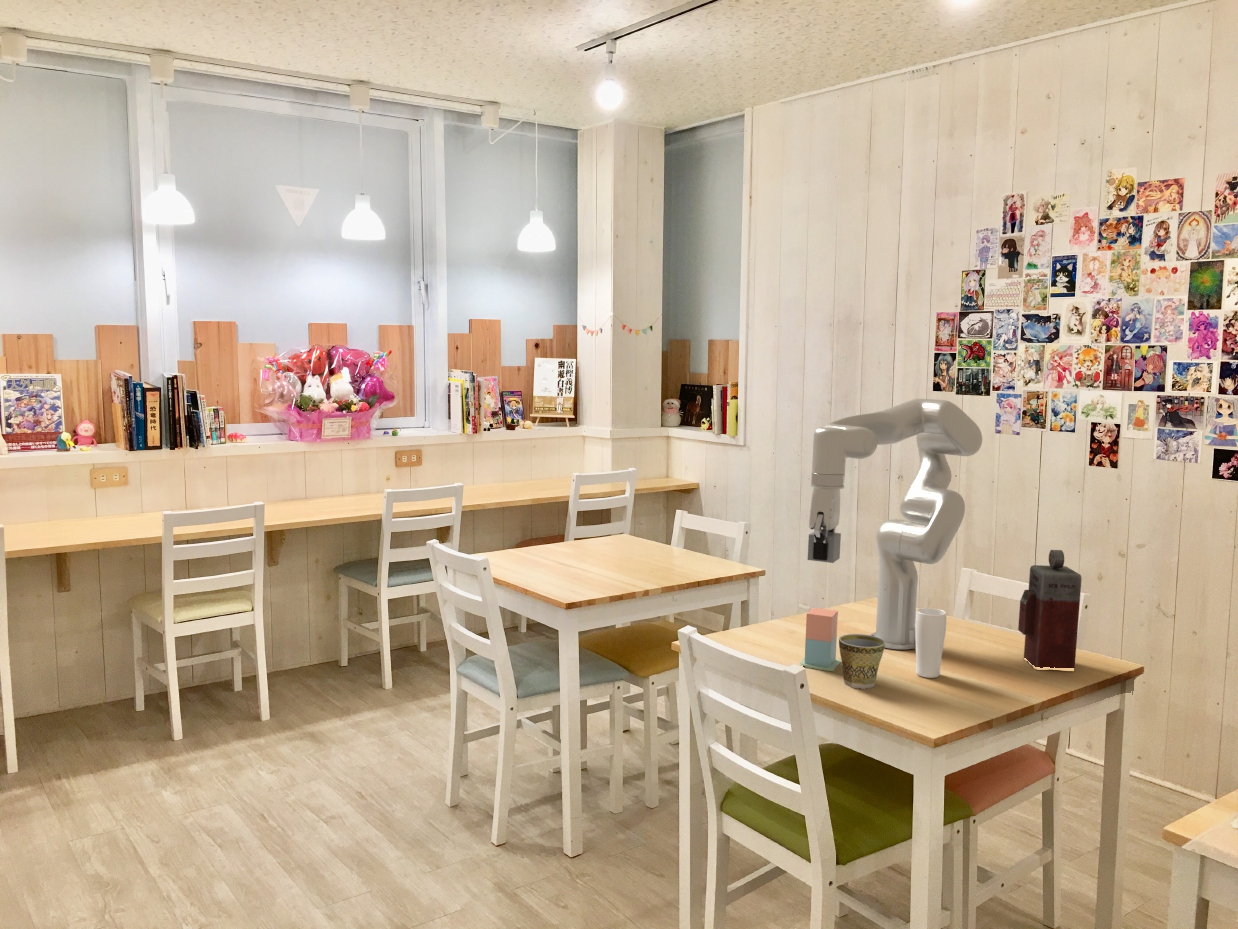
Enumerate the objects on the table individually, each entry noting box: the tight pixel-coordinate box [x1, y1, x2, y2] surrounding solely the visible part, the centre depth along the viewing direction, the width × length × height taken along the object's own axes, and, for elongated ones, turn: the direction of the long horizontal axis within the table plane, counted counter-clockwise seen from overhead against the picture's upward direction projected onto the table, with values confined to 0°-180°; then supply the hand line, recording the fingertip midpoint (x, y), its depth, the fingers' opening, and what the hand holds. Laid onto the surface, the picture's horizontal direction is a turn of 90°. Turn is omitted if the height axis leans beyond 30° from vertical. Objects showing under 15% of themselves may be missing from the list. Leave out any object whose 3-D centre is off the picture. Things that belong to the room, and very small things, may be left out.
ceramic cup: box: [838, 633, 885, 690], centre depth 222 cm, size 13×10×10 cm
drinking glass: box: [915, 607, 948, 679], centre depth 227 cm, size 7×7×15 cm
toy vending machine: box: [1017, 549, 1083, 669], centre depth 236 cm, size 9×11×28 cm
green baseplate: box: [799, 657, 842, 672], centre depth 234 cm, size 8×8×1 cm
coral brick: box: [805, 607, 839, 642], centre depth 233 cm, size 6×6×6 cm
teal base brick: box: [804, 635, 838, 667], centre depth 234 cm, size 6×6×6 cm
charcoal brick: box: [807, 531, 842, 564], centre depth 232 cm, size 6×6×6 cm
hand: (823, 556), depth 232 cm, fingers closed on charcoal brick, 6 cm apart
